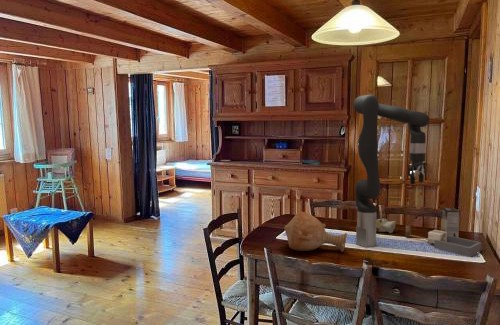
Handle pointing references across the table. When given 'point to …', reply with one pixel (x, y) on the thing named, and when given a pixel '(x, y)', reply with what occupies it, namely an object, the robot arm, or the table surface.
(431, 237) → the wooden mallet
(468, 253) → the gray tray
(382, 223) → the ceramic sculpture
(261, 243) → the table surface
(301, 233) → the jug
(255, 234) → the table surface
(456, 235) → the coffee box
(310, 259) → the table surface
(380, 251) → the table surface
